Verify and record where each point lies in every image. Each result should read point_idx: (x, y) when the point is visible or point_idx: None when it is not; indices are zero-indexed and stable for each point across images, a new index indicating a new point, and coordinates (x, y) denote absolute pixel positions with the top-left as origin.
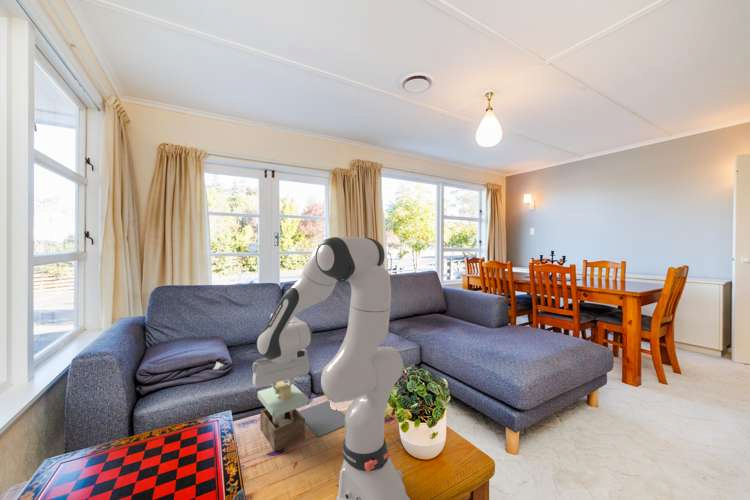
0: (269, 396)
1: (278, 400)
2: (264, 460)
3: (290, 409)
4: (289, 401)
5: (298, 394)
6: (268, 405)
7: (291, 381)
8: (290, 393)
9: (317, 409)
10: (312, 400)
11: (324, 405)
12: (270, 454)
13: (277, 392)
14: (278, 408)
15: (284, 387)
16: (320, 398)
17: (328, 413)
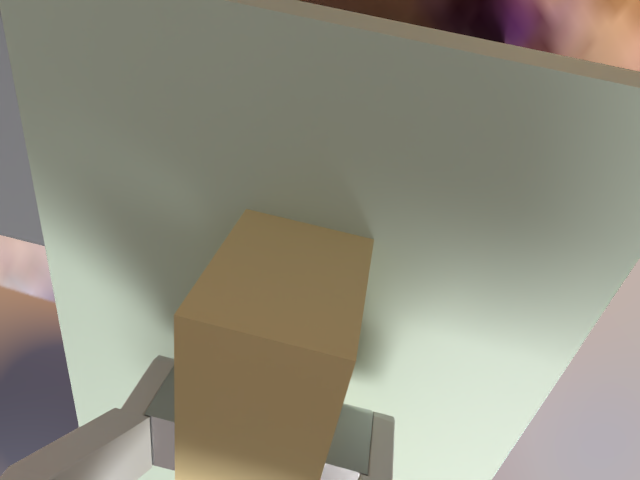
0: (419, 445)
1: (412, 301)
2: (620, 7)
3: (375, 17)
4: (316, 142)
5: (106, 211)
6: (603, 306)
7: (64, 467)
8: (223, 255)
9: None
10: (51, 297)
11: (3, 203)
12: (544, 36)
13: (364, 425)
14: (617, 83)
15: (255, 429)
16: (3, 279)
17: (7, 109)
